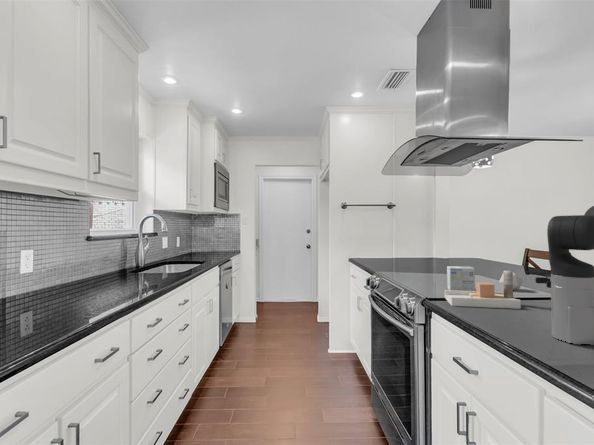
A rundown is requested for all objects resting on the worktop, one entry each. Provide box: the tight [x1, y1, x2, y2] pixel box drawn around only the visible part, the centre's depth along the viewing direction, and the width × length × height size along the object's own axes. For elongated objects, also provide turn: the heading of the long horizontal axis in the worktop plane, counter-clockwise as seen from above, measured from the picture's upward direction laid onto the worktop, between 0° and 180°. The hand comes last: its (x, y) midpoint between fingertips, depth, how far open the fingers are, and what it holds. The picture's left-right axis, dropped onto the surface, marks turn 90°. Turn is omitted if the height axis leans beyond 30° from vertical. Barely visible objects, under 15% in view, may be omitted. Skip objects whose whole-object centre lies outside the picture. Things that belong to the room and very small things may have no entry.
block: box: [475, 281, 496, 298], centre depth 127 cm, size 5×5×5 cm
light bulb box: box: [446, 265, 476, 291], centre depth 151 cm, size 11×7×11 cm, turn 78°
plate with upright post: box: [469, 269, 516, 299], centre depth 127 cm, size 11×14×11 cm
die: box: [498, 272, 524, 291], centre depth 150 cm, size 8×9×10 cm
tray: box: [444, 289, 522, 310], centre depth 128 cm, size 14×23×3 cm, turn 76°
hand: (541, 282), depth 123 cm, fingers open, 8 cm apart
